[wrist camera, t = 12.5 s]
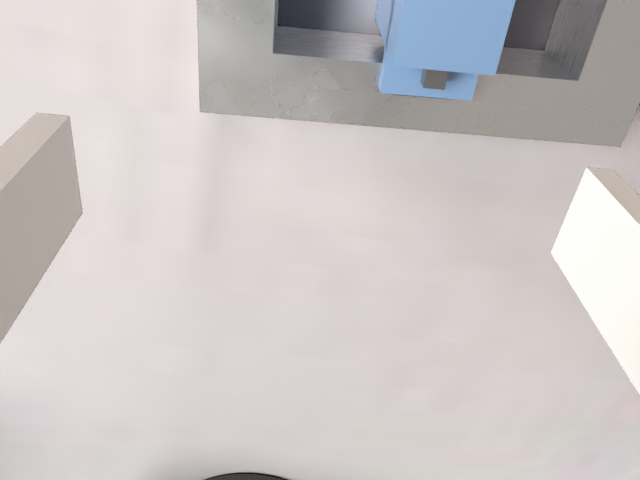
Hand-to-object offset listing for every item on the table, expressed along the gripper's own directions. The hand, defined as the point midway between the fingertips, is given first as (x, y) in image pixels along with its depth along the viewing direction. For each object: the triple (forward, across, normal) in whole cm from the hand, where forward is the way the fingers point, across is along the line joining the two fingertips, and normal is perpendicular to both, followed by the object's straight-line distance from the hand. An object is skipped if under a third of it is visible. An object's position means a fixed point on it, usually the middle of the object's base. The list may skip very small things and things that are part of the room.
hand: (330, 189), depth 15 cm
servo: (+19, -5, -3) cm, 20 cm away
